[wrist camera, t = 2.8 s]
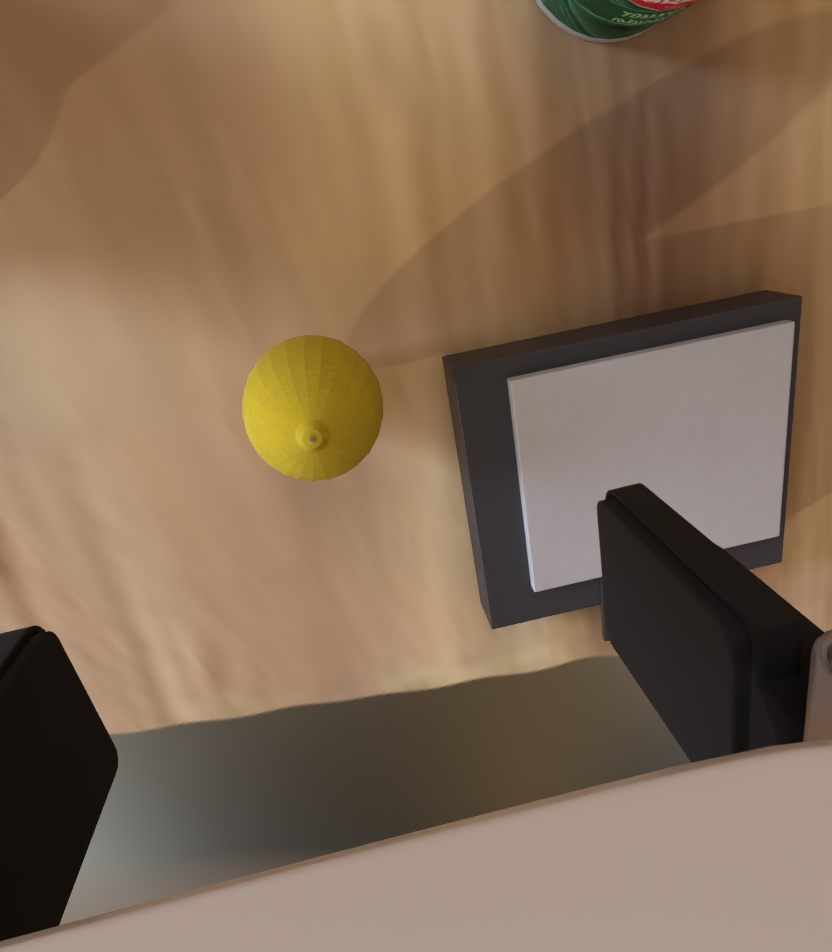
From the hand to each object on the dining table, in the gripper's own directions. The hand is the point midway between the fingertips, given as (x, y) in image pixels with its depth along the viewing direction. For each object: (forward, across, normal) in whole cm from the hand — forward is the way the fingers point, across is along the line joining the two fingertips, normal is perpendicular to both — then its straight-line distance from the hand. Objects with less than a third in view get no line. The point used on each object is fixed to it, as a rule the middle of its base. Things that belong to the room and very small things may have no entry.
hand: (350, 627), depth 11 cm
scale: (+19, -13, +9) cm, 25 cm away
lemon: (+20, +1, 0) cm, 20 cm away
